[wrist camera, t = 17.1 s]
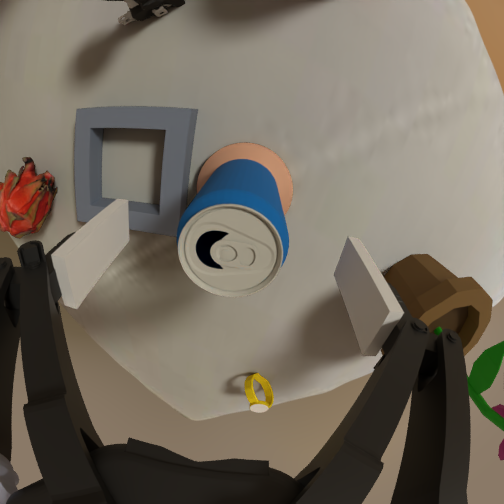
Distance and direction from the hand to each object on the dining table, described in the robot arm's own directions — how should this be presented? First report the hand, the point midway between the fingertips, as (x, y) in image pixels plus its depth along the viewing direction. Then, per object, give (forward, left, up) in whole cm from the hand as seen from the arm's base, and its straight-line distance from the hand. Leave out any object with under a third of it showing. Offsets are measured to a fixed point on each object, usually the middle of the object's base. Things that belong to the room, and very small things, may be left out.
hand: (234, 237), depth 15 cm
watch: (+29, +7, -12) cm, 32 cm away
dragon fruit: (+3, -26, -12) cm, 28 cm away
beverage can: (0, 0, -11) cm, 11 cm away
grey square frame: (-1, -11, -11) cm, 16 cm away
